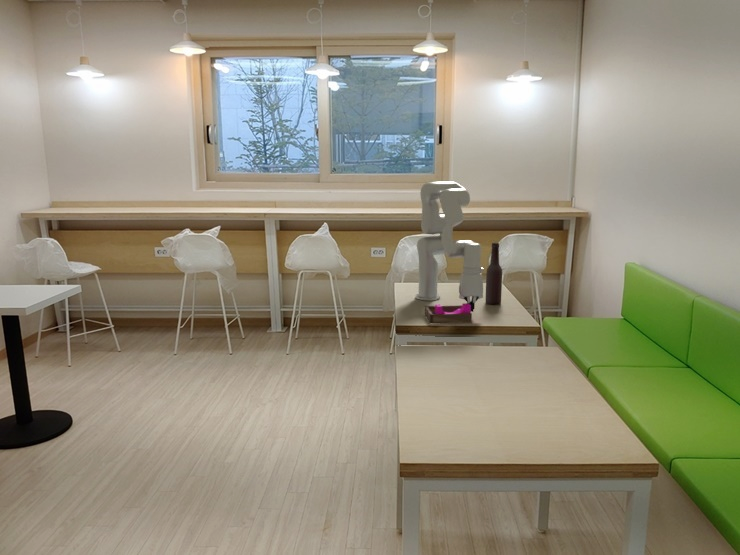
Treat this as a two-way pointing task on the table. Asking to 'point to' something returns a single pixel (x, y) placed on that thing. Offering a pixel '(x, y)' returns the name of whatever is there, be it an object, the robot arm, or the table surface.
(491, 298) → the beer bottle
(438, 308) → the magenta curved block
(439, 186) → the robot arm
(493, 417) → the table surface
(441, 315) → the walnut bay
